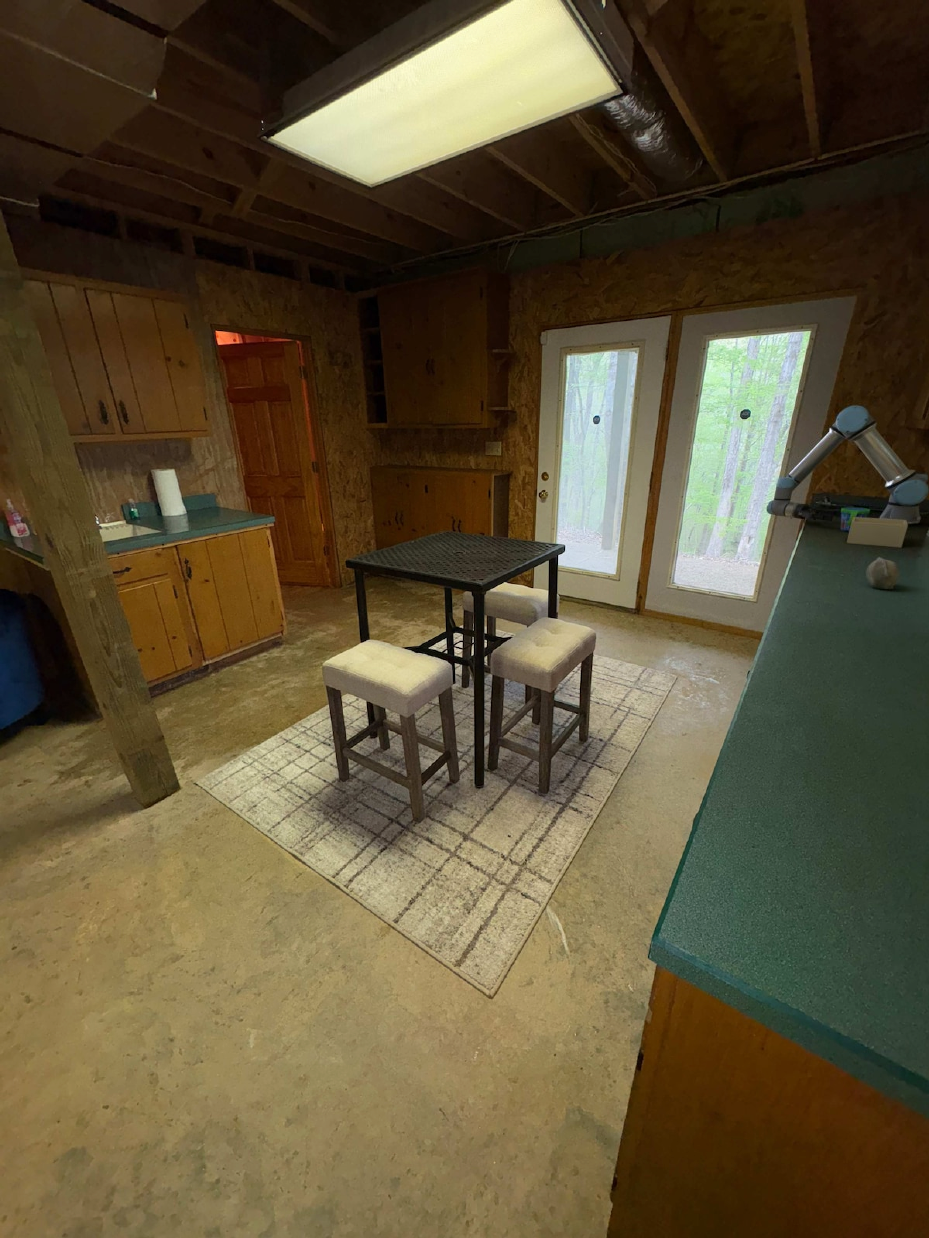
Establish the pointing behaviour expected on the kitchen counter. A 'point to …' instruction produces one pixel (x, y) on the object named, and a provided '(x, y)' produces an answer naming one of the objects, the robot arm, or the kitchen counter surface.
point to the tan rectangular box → (877, 531)
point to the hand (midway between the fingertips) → (841, 516)
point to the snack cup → (851, 516)
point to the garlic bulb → (882, 574)
